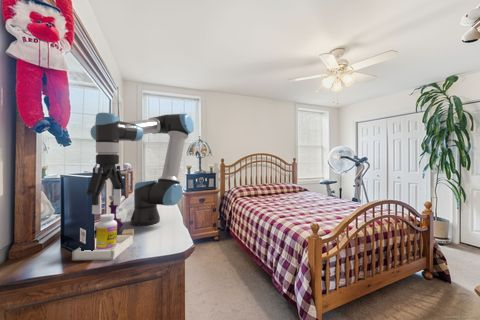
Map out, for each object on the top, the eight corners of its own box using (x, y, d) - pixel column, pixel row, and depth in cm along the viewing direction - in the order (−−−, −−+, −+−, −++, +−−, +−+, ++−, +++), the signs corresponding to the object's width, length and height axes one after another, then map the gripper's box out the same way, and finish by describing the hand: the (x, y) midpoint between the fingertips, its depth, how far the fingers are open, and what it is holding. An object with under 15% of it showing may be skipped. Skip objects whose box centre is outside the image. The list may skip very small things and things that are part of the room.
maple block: (123, 238, 92) (123, 229, 92) (133, 237, 93) (133, 229, 93) (121, 242, 88) (121, 232, 88) (132, 241, 90) (132, 231, 90)
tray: (100, 242, 87) (100, 235, 87) (133, 242, 88) (133, 235, 88) (72, 260, 72) (72, 251, 72) (113, 259, 72) (113, 251, 72)
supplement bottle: (106, 253, 76) (107, 217, 76) (91, 251, 77) (92, 216, 78) (120, 246, 83) (121, 213, 83) (106, 244, 84) (106, 212, 84)
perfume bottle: (106, 231, 101) (106, 194, 101) (123, 230, 103) (123, 194, 103) (99, 237, 94) (100, 197, 94) (118, 235, 96) (119, 196, 96)
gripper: (115, 154, 92) (115, 202, 93) (73, 153, 67) (73, 218, 68) (132, 154, 93) (132, 201, 93) (97, 153, 68) (97, 218, 68)
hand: (107, 209), depth 80 cm, fingers open, 13 cm apart
